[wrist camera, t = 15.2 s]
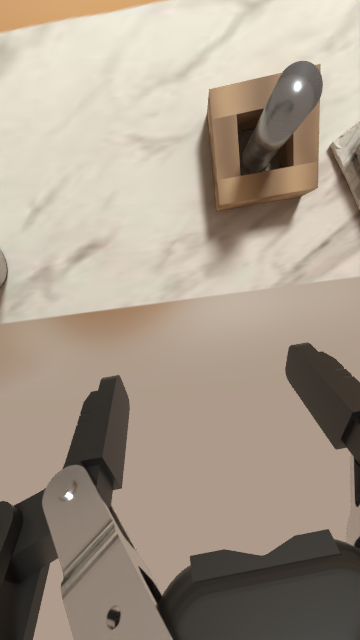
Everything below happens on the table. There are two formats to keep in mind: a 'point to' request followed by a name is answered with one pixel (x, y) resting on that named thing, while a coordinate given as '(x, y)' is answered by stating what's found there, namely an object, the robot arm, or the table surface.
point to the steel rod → (283, 113)
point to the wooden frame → (224, 124)
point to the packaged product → (349, 158)
